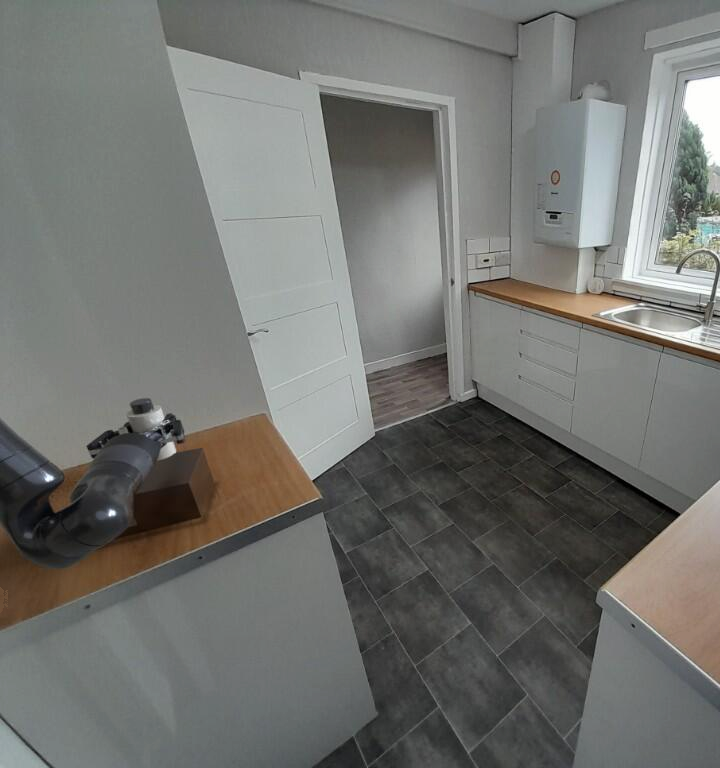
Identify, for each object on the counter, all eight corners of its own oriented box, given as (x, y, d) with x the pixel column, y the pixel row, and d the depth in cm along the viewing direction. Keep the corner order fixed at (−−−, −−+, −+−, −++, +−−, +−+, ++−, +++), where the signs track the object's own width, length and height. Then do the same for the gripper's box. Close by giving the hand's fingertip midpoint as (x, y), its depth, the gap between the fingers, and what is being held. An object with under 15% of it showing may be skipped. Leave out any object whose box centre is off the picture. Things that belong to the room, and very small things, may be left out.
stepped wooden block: (61, 556, 76) (37, 514, 72) (93, 509, 88) (73, 471, 84) (203, 521, 85) (188, 482, 81) (214, 483, 97) (202, 447, 92)
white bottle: (140, 463, 80) (117, 409, 75) (148, 450, 84) (128, 398, 79) (172, 458, 82) (153, 404, 77) (179, 445, 86) (161, 394, 82)
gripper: (169, 436, 70) (191, 397, 84) (56, 455, 64) (100, 409, 78) (182, 472, 73) (201, 429, 87) (75, 493, 67) (114, 443, 81)
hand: (153, 420), depth 83 cm, fingers closed on white bottle, 5 cm apart
